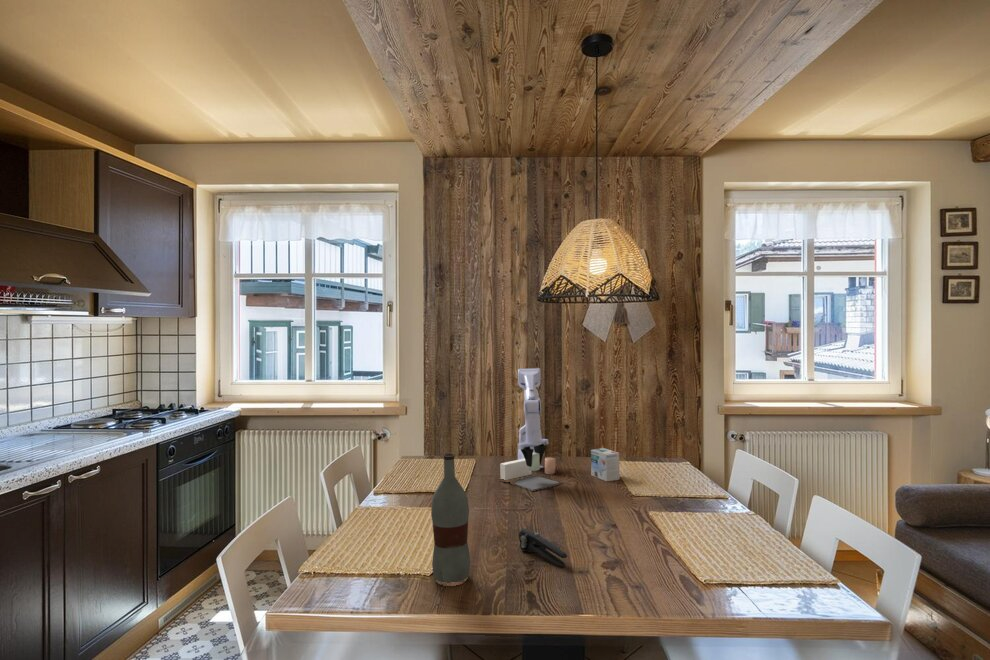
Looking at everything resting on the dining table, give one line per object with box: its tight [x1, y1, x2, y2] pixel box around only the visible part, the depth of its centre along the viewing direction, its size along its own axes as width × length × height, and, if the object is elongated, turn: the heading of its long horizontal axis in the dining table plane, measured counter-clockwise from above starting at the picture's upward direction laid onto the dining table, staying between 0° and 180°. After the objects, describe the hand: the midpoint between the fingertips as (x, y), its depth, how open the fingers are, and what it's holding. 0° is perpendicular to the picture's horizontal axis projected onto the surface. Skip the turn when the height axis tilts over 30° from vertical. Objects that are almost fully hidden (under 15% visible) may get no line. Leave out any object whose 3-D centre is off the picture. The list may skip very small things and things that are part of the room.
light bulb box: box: [590, 447, 621, 482], centre depth 211 cm, size 11×7×11 cm, turn 25°
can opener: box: [518, 528, 568, 568], centre depth 137 cm, size 18×7×6 cm, turn 33°
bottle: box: [430, 453, 471, 583], centre depth 126 cm, size 9×9×30 cm
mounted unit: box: [499, 458, 534, 480], centre depth 212 cm, size 4×15×7 cm, turn 128°
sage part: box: [528, 453, 541, 472], centre depth 203 cm, size 4×4×6 cm
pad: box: [515, 475, 561, 492], centre depth 203 cm, size 14×14×1 cm
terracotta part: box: [544, 456, 556, 475], centre depth 219 cm, size 4×4×6 cm
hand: (533, 465), depth 203 cm, fingers closed on sage part, 4 cm apart
